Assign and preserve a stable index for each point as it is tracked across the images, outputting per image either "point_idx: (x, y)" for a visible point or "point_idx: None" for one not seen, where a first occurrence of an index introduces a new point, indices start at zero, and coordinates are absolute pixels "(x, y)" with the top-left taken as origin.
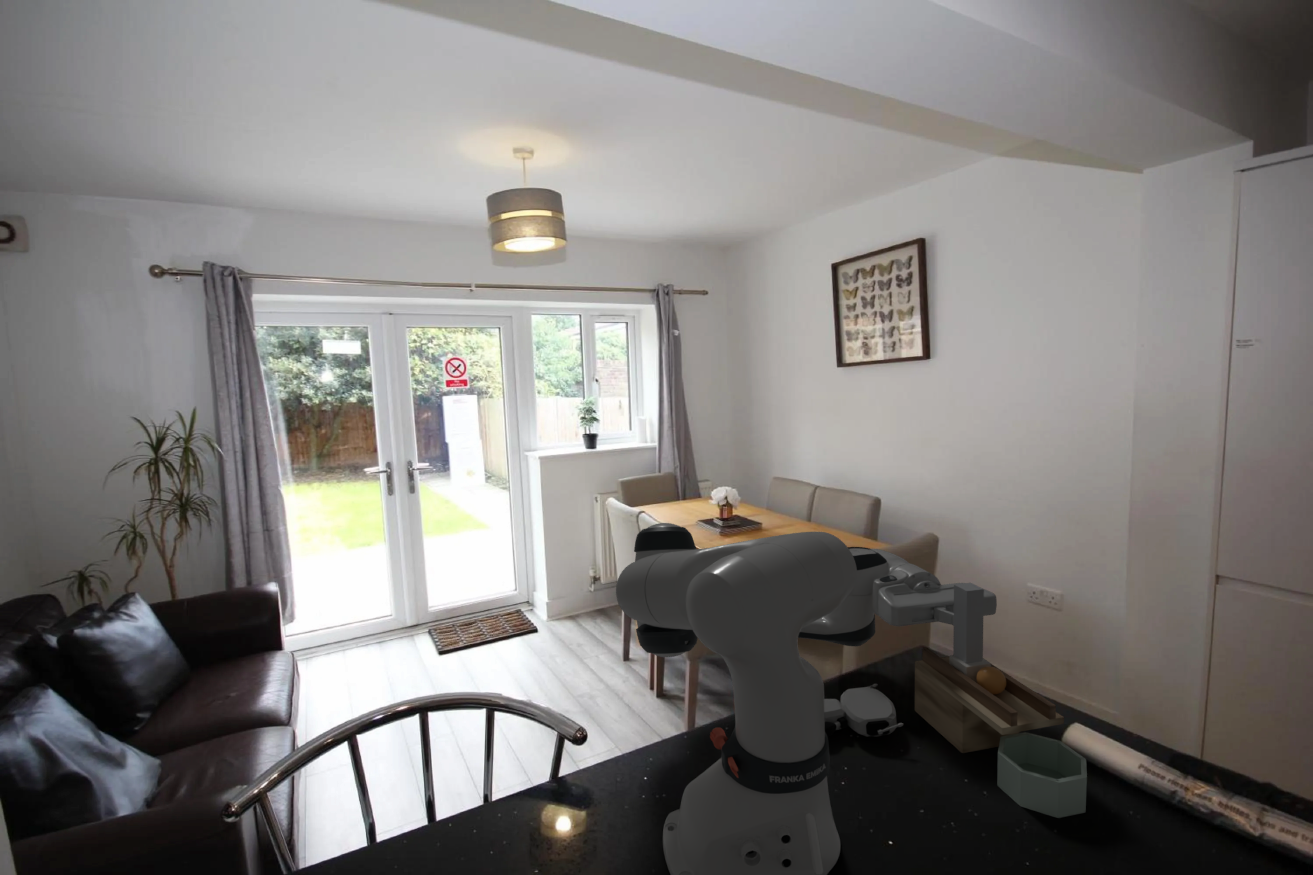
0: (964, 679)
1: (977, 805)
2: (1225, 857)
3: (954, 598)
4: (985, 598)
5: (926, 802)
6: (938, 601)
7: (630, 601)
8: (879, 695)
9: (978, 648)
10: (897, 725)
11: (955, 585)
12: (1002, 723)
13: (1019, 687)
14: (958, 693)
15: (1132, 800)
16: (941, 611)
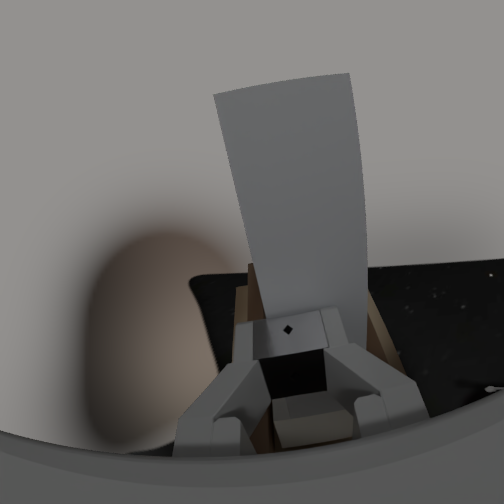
0: (374, 329)
1: (400, 317)
2: (211, 278)
3: (359, 168)
4: (6, 432)
5: (456, 316)
6: (393, 444)
7: None
8: None
9: None
10: (494, 387)
11: (344, 74)
12: None
13: (262, 307)
14: (390, 346)
15: (215, 324)
16: (400, 378)
